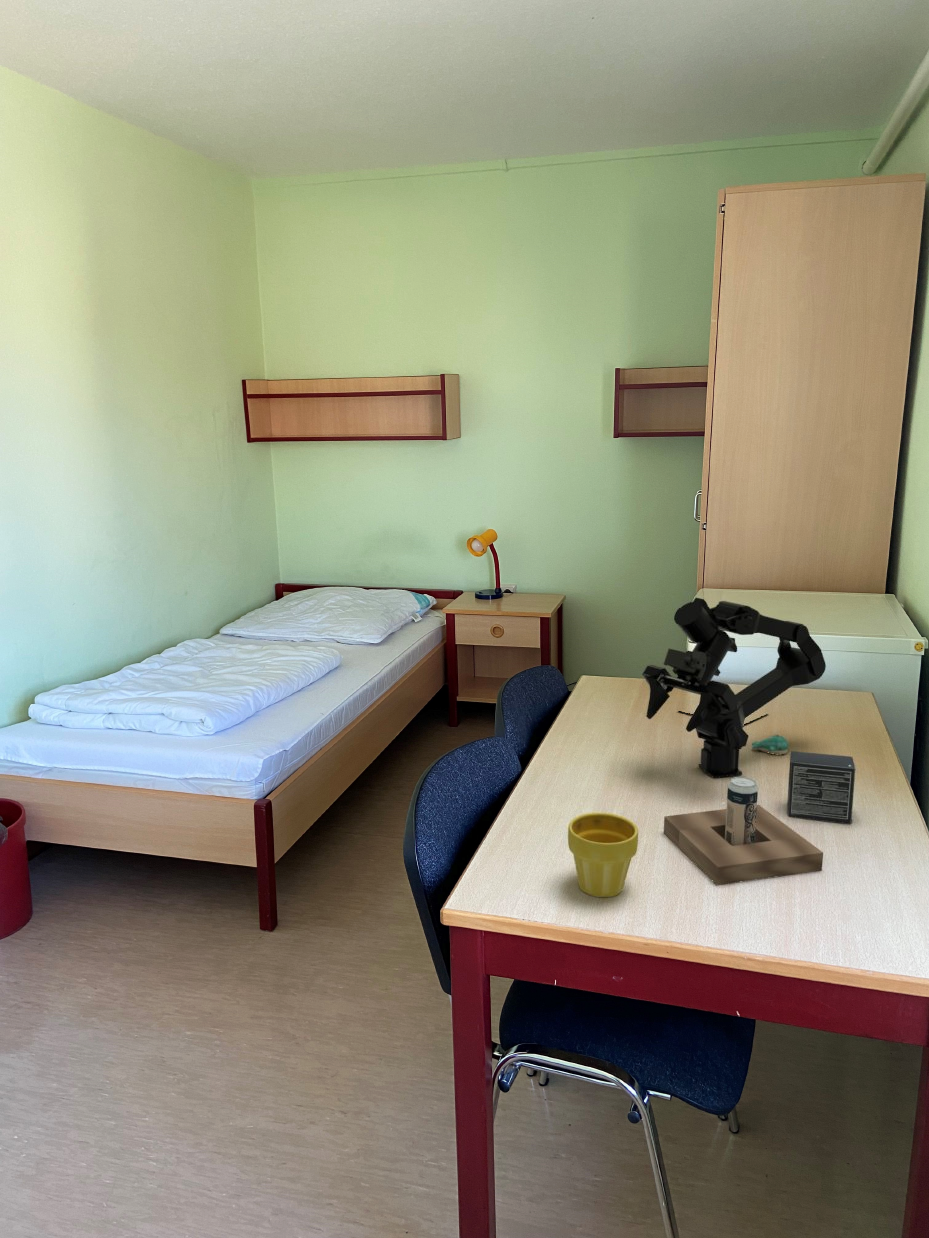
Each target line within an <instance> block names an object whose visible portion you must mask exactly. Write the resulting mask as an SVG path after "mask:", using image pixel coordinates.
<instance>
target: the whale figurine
mask: <svg viewBox="0 0 929 1238" xmlns="http://www.w3.org/2000/svg"><path fill="white" fill-rule="evenodd" d="M789 745H790V744H789V742H788V740H787V739H786V738H785V737H784V736H783V735H778V734H775V735H773V736H770V737H767V738H765V739H762V740H760V741H757V740H756V741H753V742H752V744H751V746H752V750H755V751H758V750H759V751H760V750H761V751H760V752H763V751H765V752H764V753H766V752H769V753H774V754H779V755H778V756H781V755H780V754H784V755H786V754H787V753H788V752H789V747H790V746H789ZM769 753H768V754H769ZM774 754H773V755H774Z"/></svg>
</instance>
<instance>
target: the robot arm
mask: <svg viewBox="0 0 929 1238" xmlns="http://www.w3.org/2000/svg"><path fill="white" fill-rule="evenodd" d="M673 621H674V622H675V624H676V625H677V627H679V628H680V630H681V631H682V632H683V634H684V635H685V636H686V637H687V638H688V640H689V641H690V642H692V643H695V644H696V645H695V646H694V648H693V649H692V650H687V651H680V650H677V649H674V648H673V649H672V648H668V649H667V652H666V654H665V658H664V661H663V665H664V666H669V667H671V668H672V669H671V670H672V672H673V674H675V675H677V676H676V677H675V676H672V675H671V674H670V672H669V671H668V670H667V669H666V668H665V667H662V666H657V665H654V664H649V665H647V666H645V668H644V670H643V672H642V673H641V675H642V677H643V678H644V679H645V681H646V683H647V684H648V686H649V699H648V703H647V704H648V705H647V709H646V710H647V711H646V715H645V716H646V719H648V720H652V718H653V717H654V716H655V715H656V714H657V713H658V711H660V709H661V708H662V706H663V705H664V704H666V701H668V699H669V698H670V697H671V695H670V694H669V693H671V692H672V691H674V689H678V690H681V691H685V692H688V693H692V694H696V695H699V697H700V698H699V701H698V702H699V705H698V706H697V708H696V710H695V712H694V713H693V715H691V717H690V719H689V721H688V722H687V725H686V727H685V730H686V731H687V732H688V733H690V732H692V731H693V730H695V731H696V735H697V738H698V739H702V740H703V746H702V747H701V750H700V763H699V764H698V768H699V769H700V770H703V772H705V773H706V774H708V775H709V776H711V778H713V779H716V778H726V777H733V776H734V777H737V776H741V775H743V771H742V770H740V769H739V761H740V759H739V758H740V750H742V749H743V748H744V747H746V745H747V744H748V739H749V735H748V733H747V732H746V731H745V730H744V729H743V727H744V726H745V725H744V721H745V718H746V717H748V716H749V715H751V714H752V713H754V712H755V711H759V710H760V708H763V707H764V706H765V705H767V704H768V703H770V702H771V701H773V700H774V699H775V698H777V697H778V696H780V695H781V694H783V693H785V692H786V691H788V690H789V689H791V688H792V687H797V686H803V685H809V684H812V683H814V682H816V681H817V680H819V679H821V678H822V676H823V675H824V674H825V671H826V667H827V665H826V660H825V658H824V654H823V652H822V649H821V647H820V646H819V645H818V644H817V642H816V641H815V640H814V639H813V637H811V636H810V632H809V629H808V627H807V626H806V625H805V624H803V623H801V622H800V623H799V622H796V621H792V620H791V621H790V620H784V619H783V620H782V619H778V618H774V617H770V616H766V615H763V614H761V613H760V612H759V611H758V610H757V609H755V608H753V607H751V606H749V605H745V604H742V603H741V604H740V603H736V602H731V601H727V600H721V601H719V602H718V603H717V604H716V605H715V606H714V607H713V606H712V607H711V608H710V607H709V605H708V603H707V601H706V600H705V599H704V598H699V597H695V598H694V600H692V601H690V602H687V603H684V604H683V605H682V606H681V607H679V608H677V610H676V612H675V613H674V617H673ZM727 632H728V633H731V634H734V635H735V634H736V635H739V636H752V635H754V634H762V635H766V636H771V637H774V638H775V637H776V638H778V640H779V642H778V646H777V650H776V651H777V653H778V656H779V657H778V658H777V660H776V665H775V667H774V668H773V669H771V670H770V671H768V672H767V673H765V674H764V675H763V676H761V677H760V678H758V679H757V680H755V681H754V682H752V683H750V684H749V685H748V686H746V687H744V688H743V689H742V690H739V692H737V693H735V692H734V690H733V689H732V688H731V687H730V685H729V684H727V683H724V682H721V681H717V680H713V678H714V676H715V677H719V676H720V674H721V670H720V669H719V667H720V666H721V664H722V662H723V660H724V658H725V657H726V656H727V653H728V652H731V653H737V652H738V646H737V643H736V638H735V637H730V635H729V634H728V633H727ZM791 642H792V643H796V645H797V647H798V648H797V647H795V646H792V645H791Z"/></svg>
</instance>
